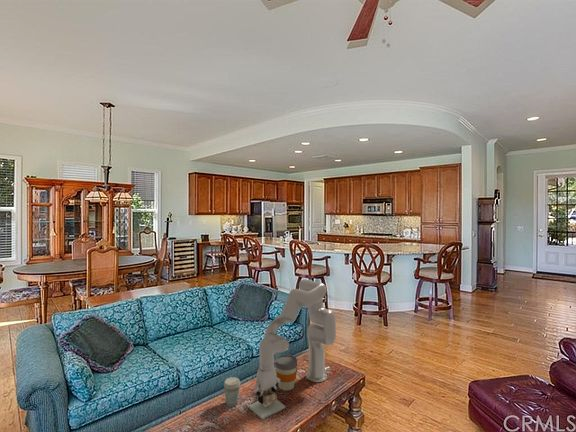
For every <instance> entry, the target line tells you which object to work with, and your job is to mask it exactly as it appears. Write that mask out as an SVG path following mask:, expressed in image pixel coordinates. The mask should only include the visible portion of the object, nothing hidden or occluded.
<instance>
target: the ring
mask: <svg viewBox="0 0 576 432" xmlns="http://www.w3.org/2000/svg"><path fill="white" fill-rule="evenodd" d="M260 392H261V391H260ZM256 395H257V394H256ZM265 395H269V396H267V397H265ZM262 396H263V404H262V405H263V406H264V407H267V406H269V405H271V404H273V403H276V402H277V400H278V393H277V392H276V393H275V392H273V391H272V390H271V388H269V389H266V390H264V391H263V394H262ZM256 400H257V401H258V395H257V397H256ZM257 401H256V402H257Z"/></svg>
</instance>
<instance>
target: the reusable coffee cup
mask: <svg viewBox="0 0 576 432" xmlns="http://www.w3.org/2000/svg"><path fill="white" fill-rule="evenodd" d="M275 360H276V362H275V363H274V366H275V368H276V374H277V377H278V378H279V379H280V382H279V383H278V386H277V387H278V389H280V390H281V391H291V390H293V389H294V388H295V384H296V379H297V372H298V369H297V367H298V359H297V357H296V356H294V355H290V354H281V355H279V356H278V357H276V359H275Z"/></svg>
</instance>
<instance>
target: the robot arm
mask: <svg viewBox="0 0 576 432" xmlns="http://www.w3.org/2000/svg"><path fill="white" fill-rule="evenodd" d="M326 294H327V286H326V284H324V283H322V282H318V281H314V280H312V279H311V280H309V279H301V280H300V281H299V283H298V288H293V289H291V290H290V291H289V294H288V296H287V297H286V300H285V302H284V303H285V304H284V306H283V308H282V310H281V312H280V314H279V315H277V317H275V318H274V319H273V320H272V321H271V322H270V323H269V324H268V326H267V328H266V331H265V333H264V335H263V340H261V341H260V342H259V368H257V372H256V382H255V383H256V384H255V386H254V387H253V388H252V391H253V392H254V393H255V394H256V395H258V401H259V402H260V403H261V404H263V396H262V394H263V391H264V390H266V389H271V390H272V391H273V392H275V393H276V394H277V389H278V387H279V386H278V383H279V382H280V379H279V378H278V377H277V374H276V366H275V363H276V359H275V355H277V354H282V353H285V352H286V351H287V350H288V349H289V346H290V342H289V340H288V339H287V338H286V337H283V336H281V335H278V334H277V332H278V330H279V329H280V328H281V327H282V326H283V325H285V324H288V323H292V322H295V321H296V320H297V317H298V315H299V312H300V309H301V307H302V308H306V309H307V308H308V317H309V318H308V319H309V321H310V322H311V323H310V324H309V326H308V327H307V328H306V329H307V330H306V335H307V339H308V340H307V342H308V371H307V372H306V373H305V377H306V379H307V380H308V381H311V382H314V383H321V382H325V381H326V380H327V379H328V374H327V372H328V371H330V370H331V367H330V366H325V364H326V363H325V357H326V356H325V354H326V351H325V349H326V348H325V346H333V345H334V343H335V341H336V337H337V332H336V331H337V330H336V329H337V328H336V323H337V322H336V315H335V312H334V311H332V309H328V308H325V307H324V297H326ZM260 391H261V392H260Z"/></svg>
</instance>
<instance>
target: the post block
mask: <svg viewBox="0 0 576 432" xmlns="http://www.w3.org/2000/svg"><path fill="white" fill-rule="evenodd" d="M267 396H269V395H265V397H267ZM248 408H249V409H250V410H251V411H252V412H253V413H254V414H256V415H257V417H258V418H260V419H261V420H265V419H266V418H268V417H270V416H273V415H274V414H276V413H278V412H280V411H282V410H284V409H286V406H285V405H284V404H283V403H282V402H281V401H280V400H278V399H277V402H276V403H273V404H271V405H269V406H267V407H264V406H263V405H262V404H261V403H260V402H259V401H255V402H253V403H251V404H249V405H248Z"/></svg>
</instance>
